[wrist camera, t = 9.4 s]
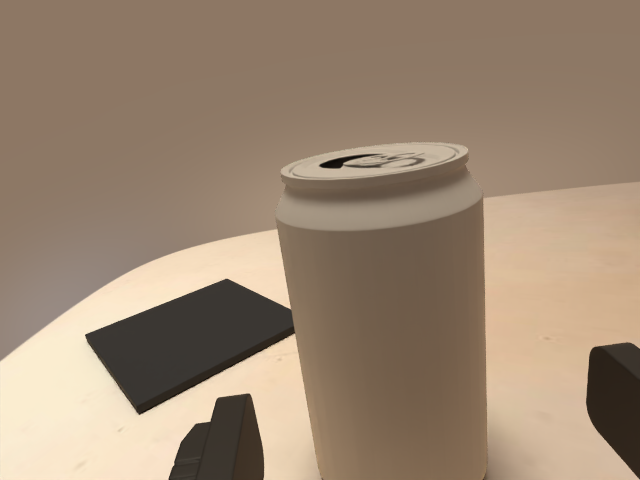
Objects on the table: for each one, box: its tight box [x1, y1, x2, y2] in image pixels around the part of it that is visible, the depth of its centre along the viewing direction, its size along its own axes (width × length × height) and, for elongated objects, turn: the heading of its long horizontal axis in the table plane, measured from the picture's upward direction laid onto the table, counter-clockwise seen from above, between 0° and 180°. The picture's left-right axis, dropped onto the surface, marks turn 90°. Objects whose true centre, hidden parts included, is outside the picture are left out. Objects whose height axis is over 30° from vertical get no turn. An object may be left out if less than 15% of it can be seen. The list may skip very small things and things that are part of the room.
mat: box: [85, 279, 295, 413], centre depth 30 cm, size 11×11×1 cm
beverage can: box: [275, 142, 487, 480], centre depth 16 cm, size 6×6×12 cm
